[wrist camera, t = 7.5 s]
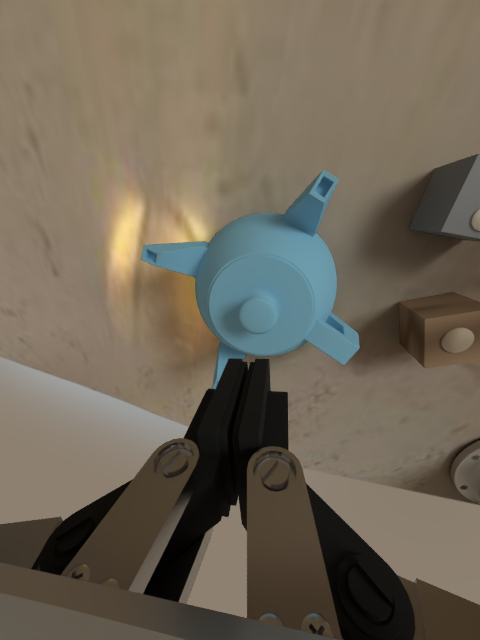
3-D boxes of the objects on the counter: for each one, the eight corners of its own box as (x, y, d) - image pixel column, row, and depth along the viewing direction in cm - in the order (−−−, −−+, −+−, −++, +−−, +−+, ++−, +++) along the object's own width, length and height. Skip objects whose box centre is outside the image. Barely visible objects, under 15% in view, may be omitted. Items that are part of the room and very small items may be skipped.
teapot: (225, 355, 31) (200, 418, 21) (176, 240, 26) (114, 252, 16) (348, 324, 27) (388, 384, 17) (316, 183, 22) (346, 153, 13)
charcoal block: (462, 239, 22) (511, 244, 18) (408, 229, 23) (442, 231, 18) (494, 178, 20) (559, 166, 16) (434, 168, 21) (480, 153, 16)
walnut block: (450, 335, 26) (489, 361, 21) (399, 343, 27) (425, 368, 22) (453, 292, 24) (495, 308, 19) (398, 301, 25) (425, 319, 21)
